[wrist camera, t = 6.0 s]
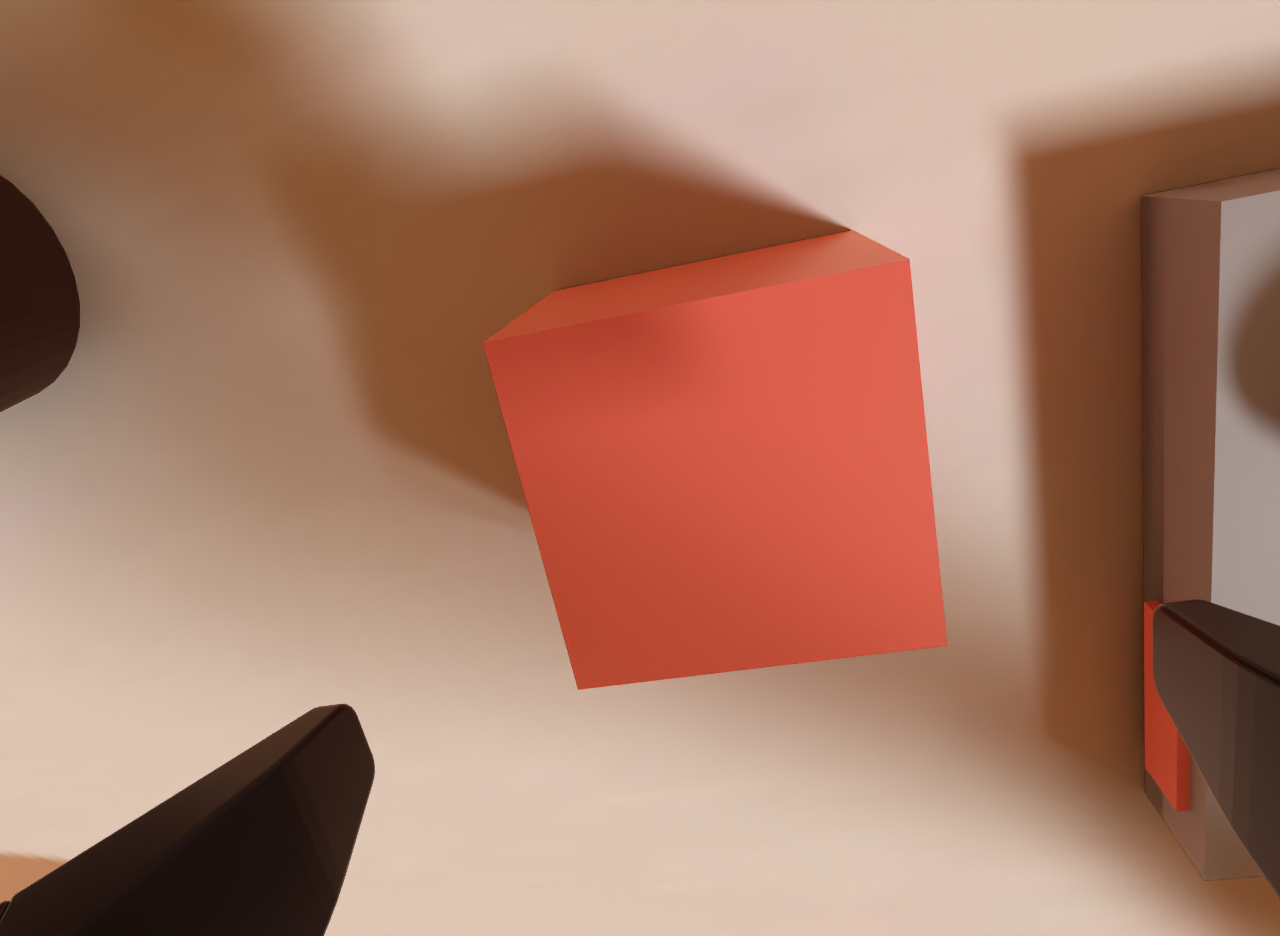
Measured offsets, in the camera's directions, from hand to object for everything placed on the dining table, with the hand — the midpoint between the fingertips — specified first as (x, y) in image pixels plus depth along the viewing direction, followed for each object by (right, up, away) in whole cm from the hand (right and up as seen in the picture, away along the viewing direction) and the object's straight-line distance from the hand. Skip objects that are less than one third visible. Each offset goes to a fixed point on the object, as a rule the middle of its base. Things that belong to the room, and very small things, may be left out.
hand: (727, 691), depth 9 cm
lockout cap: (+1, +4, +11) cm, 12 cm away
